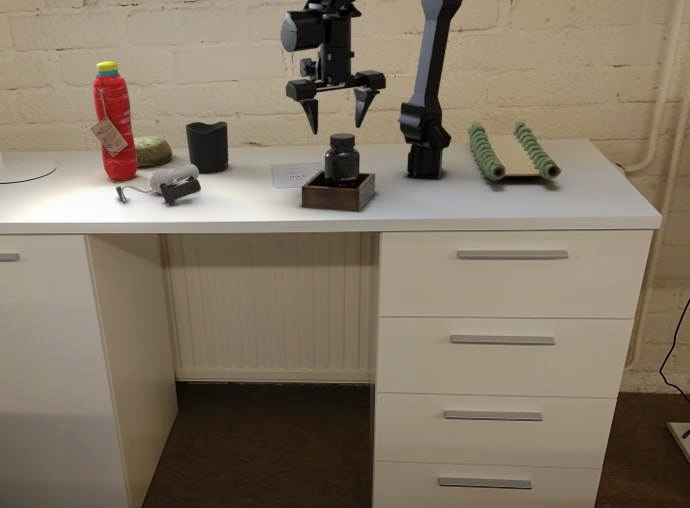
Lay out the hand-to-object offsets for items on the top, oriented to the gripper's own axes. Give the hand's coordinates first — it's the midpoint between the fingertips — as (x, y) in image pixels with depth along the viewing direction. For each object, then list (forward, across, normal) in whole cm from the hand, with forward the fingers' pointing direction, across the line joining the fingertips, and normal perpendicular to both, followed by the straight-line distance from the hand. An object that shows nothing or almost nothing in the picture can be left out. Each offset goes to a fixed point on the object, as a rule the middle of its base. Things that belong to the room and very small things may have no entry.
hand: (336, 130), depth 152 cm
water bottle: (+13, +37, -36) cm, 53 cm away
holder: (+13, +1, +3) cm, 13 cm away
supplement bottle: (+12, +1, +3) cm, 13 cm away
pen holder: (+13, +17, -33) cm, 39 cm away
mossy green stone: (+13, +28, -48) cm, 57 cm away
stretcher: (+13, -42, -1) cm, 44 cm away
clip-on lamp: (+13, +33, -17) cm, 39 cm away
